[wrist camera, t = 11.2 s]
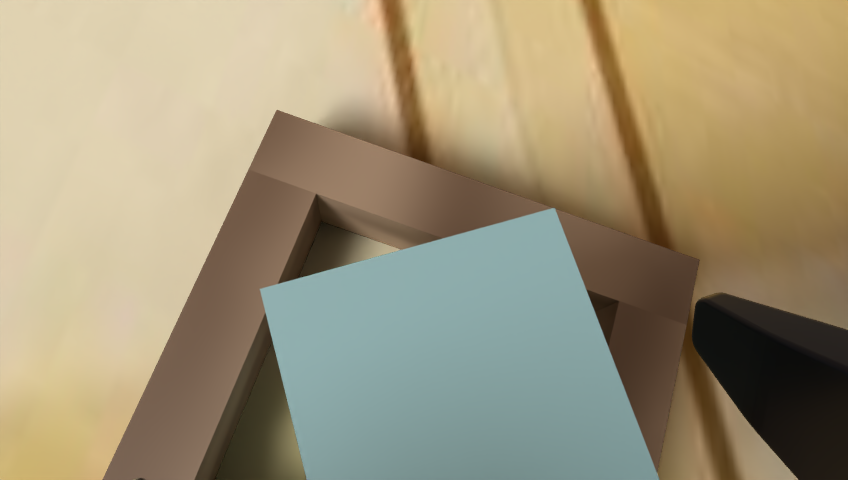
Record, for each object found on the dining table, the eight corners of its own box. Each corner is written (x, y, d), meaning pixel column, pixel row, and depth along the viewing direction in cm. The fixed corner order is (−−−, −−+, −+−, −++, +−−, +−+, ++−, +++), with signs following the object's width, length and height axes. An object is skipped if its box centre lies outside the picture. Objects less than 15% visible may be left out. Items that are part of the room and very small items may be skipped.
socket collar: (658, 278, 20) (699, 260, 17) (559, 729, 16) (595, 786, 13) (287, 146, 20) (276, 109, 17) (96, 566, 16) (49, 593, 13)
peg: (502, 459, 17) (672, 512, 8) (354, 511, 17) (346, 640, 7) (455, 313, 19) (554, 207, 9) (314, 355, 18) (259, 288, 8)
